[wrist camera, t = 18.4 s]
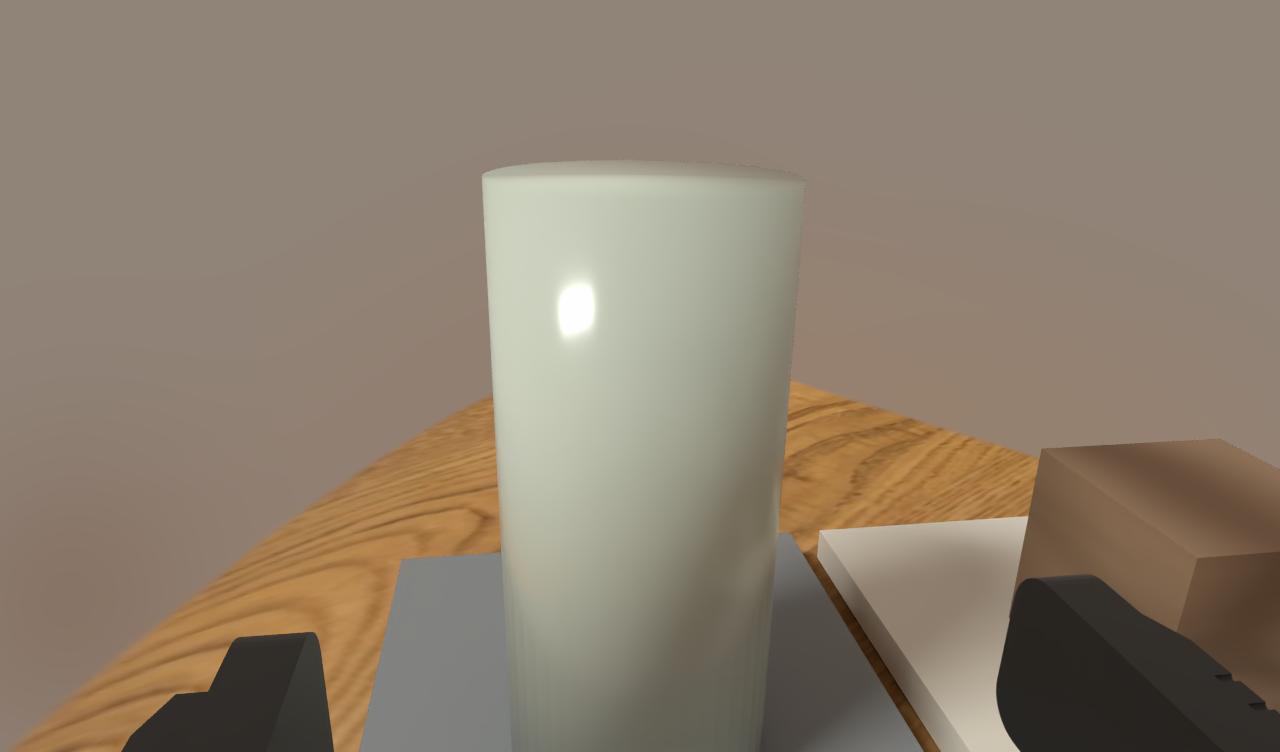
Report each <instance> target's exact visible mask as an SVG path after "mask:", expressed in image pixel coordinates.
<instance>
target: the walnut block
mask: <svg viewBox="0 0 1280 752" xmlns="http://www.w3.org/2000/svg"><path fill="white" fill-rule="evenodd" d="M1080 574H1090V575H1094V576H1096V577H1098V578H1100V579H1101V580H1102V581H1104V582H1105V583H1106V584H1107V585H1108V586H1110V587H1111V588H1112V589H1113V590H1114V591H1115V592H1117V593H1118V594H1119V595H1120V596H1121V597H1122V598H1124V599H1125V600H1126V601H1127V602H1128V603H1130V604H1131V605H1132V606H1133V607H1134V608H1135V609H1137V610H1138V611H1139V612H1140V613H1141V614H1143V615H1145V616H1147V617H1149V618H1151V619H1153V620H1154V621H1156V622H1158V623H1160V624H1162V625H1164V626H1166V627H1167V628H1169V629H1171V630H1173V631H1175V632H1177V633H1179V634H1180V635H1182V636H1184V637H1186V638H1188V639H1190V640H1192V641H1193V642H1194V643H1195V644H1196V645H1198V646H1199V647H1200V648H1201V649H1202V650H1204V651H1205V652H1206V653H1207V654H1208V655H1210V656H1211V657H1212V658H1213V659H1214V660H1216V661H1217V662H1218V663H1219V664H1221V665H1222V666H1223V667H1224V668H1225V669H1227V670H1228V671H1229V672H1230V673H1231V674H1232V679H1233V680H1234V681H1241V682H1242V683H1243V684H1245V685H1246V686H1247V687H1248V688H1250V689H1251V690H1252V691H1253V692H1254V693H1256V694H1257V695H1258V696H1259V697H1260V698H1262V699H1263V700H1264V701H1265V702H1266V707H1267V708H1268V710H1273V709H1275V710H1276V711H1277V712H1278V713H1280V469H1278V468H1276V467H1274V466H1272V465H1270V464H1268V463H1266V462H1264V461H1262V460H1260V459H1258V458H1256V457H1254V456H1252V455H1250V454H1248V453H1247V452H1245V451H1243V450H1241V449H1239V448H1237V447H1235V446H1233V445H1231V444H1229V443H1227V442H1225V441H1223V440H1221V439H1208V440H1192V441H1191V440H1190V441H1173V442H1155V443H1137V444H1120V445H1101V446H1085V447H1084V446H1083V447H1065V448H1047V449H1042V450H1041V455H1040V460H1039V465H1038V470H1037V476H1036V481H1035V486H1034V491H1033V496H1032V501H1031V506H1030V511H1029V516H1028V521H1027V526H1026V531H1025V537H1024V542H1023V547H1022V552H1021V557H1020V562H1019V567H1018V572H1017V577H1016V582H1015V587H1014V592H1013V598H1012V603H1011V608H1010V613H1009V618H1010V615H1011V611H1012V606H1013V601H1014V597H1015V593H1016V590H1017V588H1018V586H1019V585H1020V584H1021V582H1023V581H1024V580H1025V579H1028V578H1038V577H1052V576H1066V575H1080Z"/></svg>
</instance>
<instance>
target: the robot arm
mask: <svg viewBox="0 0 1280 752" xmlns="http://www.w3.org/2000/svg"><path fill="white" fill-rule="evenodd" d="M996 699H997V706H998V710H999V714H1000V717H1001V720H1002V723H1003V725H1004V728H1005V730H1006V732H1007V734H1008V735H1009V737H1010V739H1011V740H1012V741H1013V743H1014V744H1015V746H1016V747H1017V748H1018V749H1019V751H1020V752H1280V713H1278V712H1277V711H1276V710H1275V709H1273V710H1268V708H1267V707H1266V702H1265V701H1264V700H1263V699H1262V698H1260V697H1259V696H1258V695H1257V694H1256V693H1254V692H1253V691H1252V690H1251V689H1250V688H1248V687H1247V686H1246V685H1245V684H1243V683H1242V682H1241V681H1234V680H1233V679H1232V674H1231V673H1230V672H1229V671H1228V670H1227V669H1225V668H1224V667H1223V666H1222V665H1221V664H1219V663H1218V662H1217V661H1216V660H1214V659H1213V658H1212V657H1211V656H1210V655H1208V654H1207V653H1206V652H1205V651H1204V650H1202V649H1201V648H1200V647H1199V646H1198V645H1196V644H1195V643H1194V642H1193V641H1192V640H1190V639H1188V638H1186V637H1184V636H1182V635H1180V634H1179V633H1177V632H1175V631H1173V630H1171V629H1169V628H1167V627H1166V626H1164V625H1162V624H1160V623H1158V622H1156V621H1154V620H1153V619H1151V618H1149V617H1147V616H1145V615H1143V614H1141V613H1140V612H1139V611H1138V610H1137V609H1135V608H1134V607H1133V606H1132V605H1131V604H1130V603H1128V602H1127V601H1126V600H1125V599H1124V598H1122V597H1121V596H1120V595H1119V594H1118V593H1117V592H1115V591H1114V590H1113V589H1112V588H1111V587H1110V586H1108V585H1107V584H1106V583H1105V582H1104V581H1102V580H1101V579H1100V578H1098V577H1096V576H1094V575H1090V574H1080V575H1066V576H1052V577H1038V578H1028V579H1025V580H1024V581H1023V582H1021V584H1020V585H1019V586H1018V588H1017V590H1016V593H1015V597H1014V601H1013V606H1012V611H1011V615H1010V620H1009V625H1008V630H1007V634H1006V639H1005V644H1004V649H1003V653H1002V658H1001V663H1000V668H999V673H998V677H997V683H996ZM122 752H334V749H333V740H332V732H331V725H330V717H329V710H328V702H327V695H326V687H325V680H324V672H323V664H322V657H321V650H320V644H319V640H318V638H317V636H316V634H315V633H314V632H305V633H291V634H278V635H264V636H250V637H238V638H237V639H235V640H234V641H233V643H232V644H231V646H230V648H229V650H228V652H227V654H226V656H225V658H224V660H223V662H222V664H221V666H220V668H219V670H218V672H217V674H216V676H215V679H214V681H213V683H212V685H211V687H210V689H209V691H208V692H199V693H186V694H176V695H175V696H174V697H172V698H171V699H170V700H169V701H168V702H167V703H166V704H165V705H164V706H163V707H162V708H160V709H159V710H158V711H157V712H156V713H155V714H154V715H153V716H152V717H151V718H150V719H148V720H147V721H146V722H145V723H144V724H143V725H142V726H141V727H140V728H139V729H137V730H136V731H135V732H134V733H133V734H132V735H131V736H130V738H129V740H128V741H127V743H126V745H125V747H124V748H123V750H122Z"/></svg>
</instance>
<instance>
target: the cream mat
mask: <svg viewBox="0 0 1280 752" xmlns="http://www.w3.org/2000/svg"><path fill="white" fill-rule="evenodd" d="M1027 521H1028V516H1025V517H1010V518H996V519H981V520H967V521H952V522H937V523H923V524H908V525H894V526H879V527H865V528H850V529H835V530H821V531H820V533H819V543H818V553H817V558H818V560H819V561H820V563H821V565H822V566H823V568H824V569H825V571H826V572H827V574H828V576H829V577H830V579H831V580H832V582H833V583H834V585H835V587H836V588H837V590H838V591H839V593H840V594H841V596H842V598H843V599H844V601H845V602H846V604H847V605H848V607H849V608H850V610H851V612H852V613H853V615H854V616H855V618H856V619H857V621H858V623H859V624H860V626H861V627H862V629H863V630H864V632H865V634H866V635H867V637H868V638H869V640H870V641H871V643H872V645H873V646H874V648H875V649H876V651H877V652H878V654H879V656H880V657H881V659H882V660H883V662H884V663H885V665H886V667H887V668H888V670H889V671H890V673H891V674H892V676H893V677H894V679H895V681H896V682H897V684H898V685H899V687H900V688H901V690H902V692H903V693H904V695H905V696H906V698H907V699H908V701H909V703H910V704H911V706H912V707H913V709H914V710H915V712H916V714H917V715H918V717H919V718H920V720H921V721H922V723H923V725H924V726H925V728H926V729H927V731H928V732H929V734H930V736H931V737H932V739H933V740H934V742H935V743H936V745H937V746H938V748H939V750H940V751H941V752H1020V751H1019V749H1018V748H1017V747H1016V746H1015V744H1014V743H1013V741H1012V740H1011V739H1010V737H1009V735H1008V734H1007V732H1006V730H1005V728H1004V725H1003V723H1002V720H1001V717H1000V714H999V710H998V706H997V699H996V683H997V677H998V673H999V668H1000V663H1001V658H1002V653H1003V649H1004V644H1005V639H1006V634H1007V630H1008V625H1009V620H1010V618H1009V613H1010V608H1011V603H1012V598H1013V592H1014V587H1015V582H1016V577H1017V572H1018V567H1019V562H1020V557H1021V552H1022V547H1023V542H1024V537H1025V531H1026V526H1027Z"/></svg>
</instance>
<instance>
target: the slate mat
mask: <svg viewBox="0 0 1280 752" xmlns="http://www.w3.org/2000/svg"><path fill="white" fill-rule="evenodd" d="M359 752H512V744H511V727H510V708H509V688H508V669H507V650H506V631H505V611H504V592H503V573H502V554H501V552H500V553H486V554H471V555H457V556H442V557H428V558H413V559H402V560H401V565H400V569H399V574H398V578H397V583H396V587H395V592H394V596H393V601H392V605H391V610H390V614H389V619H388V623H387V628H386V632H385V637H384V641H383V646H382V650H381V655H380V659H379V664H378V668H377V673H376V677H375V682H374V686H373V691H372V695H371V700H370V704H369V709H368V713H367V718H366V722H365V727H364V731H363V736H362V740H361V745H360V749H359ZM761 752H924V751H923V750H922V748H921V746H920V745H919V743H918V741H917V740H916V738H915V736H914V735H913V733H912V732H911V730H910V728H909V727H908V725H907V723H906V722H905V720H904V719H903V717H902V715H901V714H900V712H899V710H898V709H897V707H896V705H895V704H894V702H893V701H892V699H891V697H890V696H889V694H888V692H887V691H886V689H885V688H884V686H883V684H882V683H881V681H880V679H879V678H878V676H877V674H876V673H875V671H874V670H873V668H872V666H871V665H870V663H869V661H868V660H867V658H866V656H865V655H864V653H863V652H862V650H861V648H860V647H859V645H858V643H857V642H856V640H855V639H854V637H853V635H852V634H851V632H850V630H849V629H848V627H847V625H846V624H845V622H844V621H843V619H842V617H841V616H840V614H839V612H838V611H837V609H836V608H835V606H834V604H833V603H832V601H831V599H830V598H829V596H828V594H827V593H826V591H825V590H824V588H823V586H822V585H821V583H820V581H819V580H818V578H817V576H816V575H815V573H814V572H813V570H812V568H811V567H810V565H809V563H808V562H807V560H806V559H805V557H804V555H803V554H802V552H801V550H800V549H799V547H798V545H797V544H796V542H795V541H794V539H793V537H792V536H791V534H790V533H778V543H777V555H776V568H775V580H774V593H773V605H772V618H771V630H770V643H769V655H768V668H767V680H766V693H765V705H764V718H763V730H762V743H761Z"/></svg>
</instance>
